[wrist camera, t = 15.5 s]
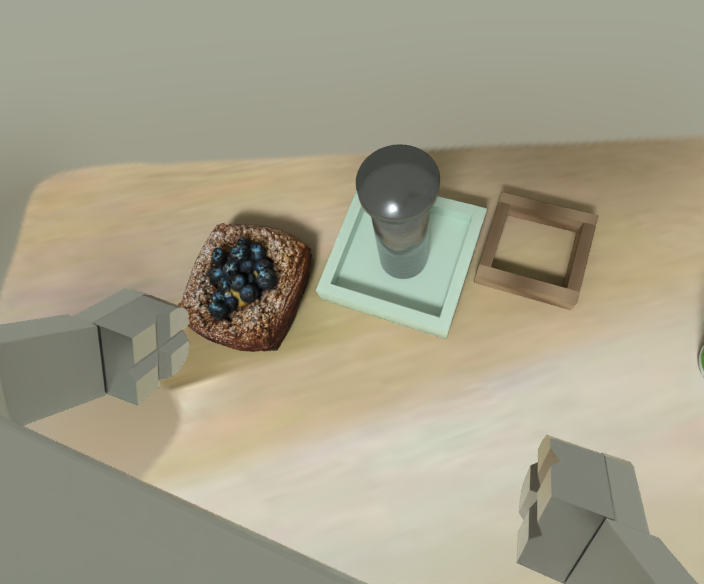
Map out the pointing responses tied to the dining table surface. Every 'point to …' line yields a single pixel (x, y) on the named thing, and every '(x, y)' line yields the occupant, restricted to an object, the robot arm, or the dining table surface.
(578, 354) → the dining table surface
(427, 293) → the tray
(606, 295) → the dining table surface
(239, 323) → the pastry
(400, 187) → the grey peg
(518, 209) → the socket block
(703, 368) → the supplement bottle
